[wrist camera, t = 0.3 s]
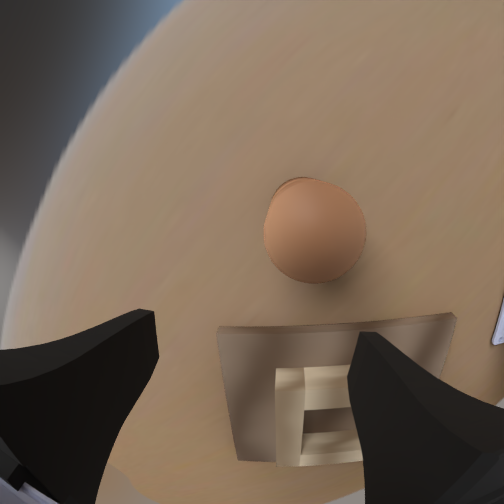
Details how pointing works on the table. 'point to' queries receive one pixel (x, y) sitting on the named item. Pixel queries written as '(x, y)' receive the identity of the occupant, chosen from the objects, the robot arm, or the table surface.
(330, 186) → the peg
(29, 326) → the table surface
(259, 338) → the socket
